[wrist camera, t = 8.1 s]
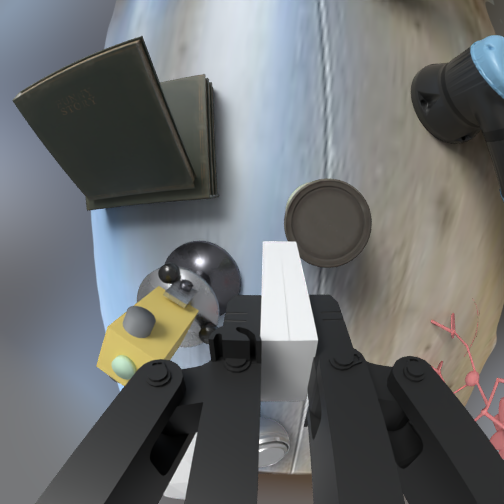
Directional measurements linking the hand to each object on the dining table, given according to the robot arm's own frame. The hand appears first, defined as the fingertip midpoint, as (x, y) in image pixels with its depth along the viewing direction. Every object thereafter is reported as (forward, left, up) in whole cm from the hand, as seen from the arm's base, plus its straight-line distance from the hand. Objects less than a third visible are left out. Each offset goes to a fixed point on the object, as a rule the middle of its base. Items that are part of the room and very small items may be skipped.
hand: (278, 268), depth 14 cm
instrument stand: (+6, +18, -34) cm, 39 cm away
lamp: (-12, +48, -34) cm, 60 cm away
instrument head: (+6, +18, -20) cm, 27 cm away
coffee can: (-5, -2, -34) cm, 34 cm away
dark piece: (+25, +1, -34) cm, 42 cm away
